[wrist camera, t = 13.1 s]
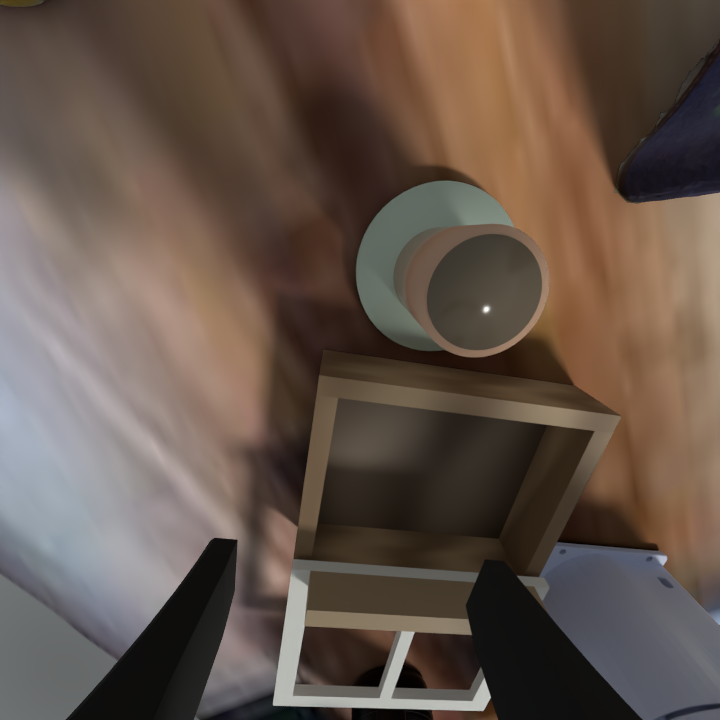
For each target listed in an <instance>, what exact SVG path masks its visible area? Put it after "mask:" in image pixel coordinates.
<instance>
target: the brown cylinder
mask: <svg viewBox="0 0 720 720" xmlns="http://www.w3.org/2000/svg"><path fill="white" fill-rule="evenodd" d="M393 280H394V288H395V291H396V294H397V297H398V299H399V300H400V302H401V304H402V305H403V306H404V307H405V308H406V309H407V311H408V312H409V313H410V314H411V315H412V316H413V317H414V319H415V320H416V321H417V322H418V323H419V324H420V326H421V327H422V328H423V329H424V330H425V331H426V333H427V334H428V335H429V336H430V337H431V338H432V339H433V341H434V342H436V343H437V344H438V345H439V346H440V347H442V348H443V349H445V350H446V351H449V352H451V353H453V354H456V355H459V356H464V357H485V356H490V355H494V354H497V353H500V352H502V351H504V350H506V349H508V348H510V347H511V346H513V345H515V344H516V343H517V342H519V341H520V340H521V339H522V338H523V337H524V336H525V335H526V334H528V332H529V331H530V330H531V329H532V328H533V327H534V325H535V324H536V322H537V321H538V319H539V317H540V315H541V313H542V312H543V309H544V307H545V304H546V301H547V297H548V292H549V270H548V266H547V262H546V259H545V257H544V255H543V252H542V251H541V249H540V248H539V246H538V245H537V244H536V242H535V241H534V240H533V239H532V238H531V237H529V236H528V235H527V234H526V233H524V232H522V231H521V230H519V229H517V228H514V227H512V226H508V225H503V224H479V225H465V226H450V227H436V228H431V229H428V230H425V231H423V232H421V233H419V234H417V235H416V236H415V237H413V238H412V239H411V240H410V241H409V242H408V243H407V244H406V245H405V246H404V247H403V249H402V250H401V252H400V254H399V256H398V258H397V261H396V263H395V268H394V275H393Z"/></svg>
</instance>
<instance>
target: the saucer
mask: <svg viewBox="0 0 720 720" xmlns="http://www.w3.org/2000/svg"><path fill="white" fill-rule="evenodd" d="M479 224H503V225H508V226H512V227H514V226H513V223H512V221H511V219H510V218H509V216H508V214H507V213H506V211H505V210H504V209H503V207H502V206H501V205H500V204H499V203H498V202H497V201H496V200H495V199H494V198H493V197H492V196H490V195H489V194H487V193H486V192H484V191H483V190H481V189H479V188H477V187H475V186H472V185H469V184H466V183H462V182H456V181H435V182H429V183H425V184H421V185H418V186H415V187H413V188H411V189H409V190H407V191H405V192H403V193H401V194H400V195H398V196H397V197H395V198H394V199H392V200H391V201H390V202H389V203H388V204H386V205H385V206H384V207H383V208H382V209H381V210H380V211H379V212H378V214H377V215H376V216H375V217H374V218H373V220H372V221H371V223H370V224H369V226H368V228H367V230H366V232H365V233H364V235H363V238H362V241H361V243H360V246H359V250H358V254H357V260H356V283H357V289H358V293H359V296H360V300H361V303H362V305H363V308H364V310H365V312H366V314H367V315H368V317H369V318H370V320H371V321H372V323H373V324H374V325H375V326H376V328H377V329H378V330H380V331H381V332H382V333H383V334H384V335H385V336H387V337H388V338H389V339H391V340H392V341H394V342H396V343H398V344H400V345H402V346H405V347H408V348H411V349H416V350H422V351H440V350H445V349H443V348H442V347H440V346H439V345H438V344H437V343H436V342H434V341H433V339H432V338H431V337H430V336H429V335H428V334H427V333H426V331H425V330H424V329H423V328H422V327H421V326H420V324H419V323H418V322H417V321H416V320H415V319H414V317H413V316H412V315H411V314H410V313H409V312H408V311H407V309H406V308H405V307H404V306H403V305H402V304H401V302H400V300H399V299H398V297H397V294H396V291H395V288H394V280H393V275H394V268H395V263H396V261H397V258H398V256H399V254H400V252H401V250H402V249H403V247H404V246H405V245H406V244H407V243H408V242H409V241H410V240H411V239H412V238H413V237H415V236H416V235H417V234H419V233H421V232H423V231H425V230H428V229H431V228H436V227H450V226H465V225H479Z"/></svg>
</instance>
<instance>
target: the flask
mask: <svg viewBox="0 0 720 720" xmlns="http://www.w3.org/2000/svg"><path fill="white" fill-rule="evenodd" d="M679 91H680V93H679V94H678V95H677V96H678V97H677V99H676V101H675V102H676V103H675V104H674V105H673V107H671V108H670V109H669V111H668V112H663V113H660V118H659V119H658V122H657V124H656V127H655V128H654V129H653V131H652V132H651V133H650V134H649V135H647V136H646V137H644V138H643V139H642V138H641V139H640V140H641V141H640V143H639V144H638V145H637V146H636V148H635V149H634V150H633V151H632V152H631V153H630V155H629V156H628V157H627V158H626V160H625V161H624V162H622V164H621V165H620V167H619V171H618V176H617V178H618V179H617V182H616V184H617V186H616V188H615V191H614V193H619V195H620V196H621V197H622V198H623V199H624V200H625V201H626V202H627V203H635V204H638V203H641V202H648V201H660V200H668V199H674V198H681V197H692V196H701V195H706V194H713V193H719V192H720V39H719V41H718V42H717V44H716V45H715V46H714V47H713V50H711V51H710V52H708V53H707V56H705V58H702V59H701V60H700V61H699V63H698V64H697V66H696V67H695V68H694V69H693V70H692V71H690V72H689V75H688V77H687V79H686V80H685V81H684V82H683V83H682V85H681V89H680V90H679Z"/></svg>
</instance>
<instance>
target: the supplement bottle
mask: <svg viewBox="0 0 720 720" xmlns="http://www.w3.org/2000/svg"><path fill="white" fill-rule="evenodd" d="M384 669H385V667H384V668H379V669H376V670H373V671H370V672H368V673H366V674H365V675H363V676H362V677H361V678H360V679H359V680H358V681H357V682H356V684H355V686H359V687H379V684H380V681H381V678H382V675H383V672H384ZM395 688H419V689H427V686H426V683H425V681H424V680H423V678H422V677H421V676H420V675H419V674H418V673H416V672H415V671H413V670H410V669H407V668H403V667H402V669H401V672H400V675H399V677H398V680H397V683H396V686H395ZM352 720H433V715H432V710H425V709H387V708H352Z"/></svg>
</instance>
